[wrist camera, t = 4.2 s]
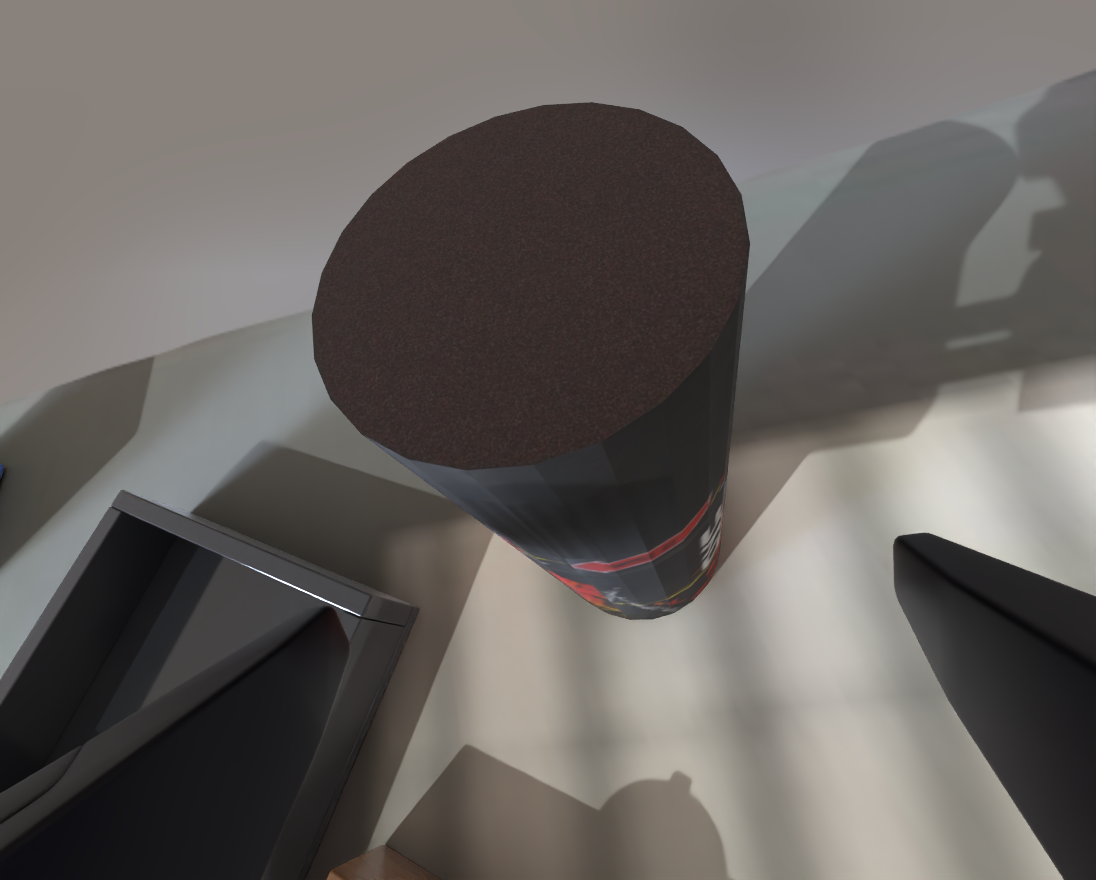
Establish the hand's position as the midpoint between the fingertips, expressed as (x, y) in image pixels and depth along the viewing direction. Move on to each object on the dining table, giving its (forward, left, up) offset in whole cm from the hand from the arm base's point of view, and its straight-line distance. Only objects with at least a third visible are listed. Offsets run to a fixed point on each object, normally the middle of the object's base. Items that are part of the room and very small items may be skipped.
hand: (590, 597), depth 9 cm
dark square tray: (-9, +16, -11) cm, 21 cm away
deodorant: (+3, +2, -12) cm, 12 cm away
